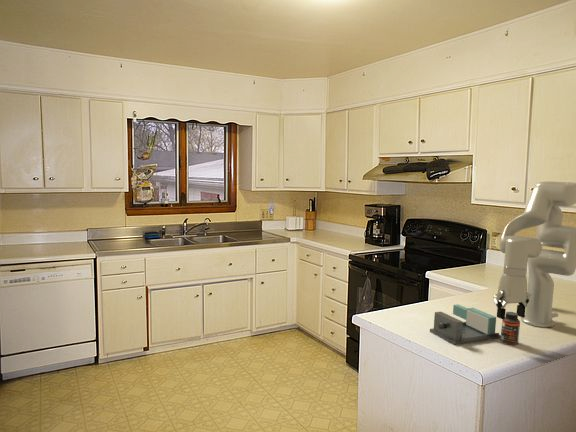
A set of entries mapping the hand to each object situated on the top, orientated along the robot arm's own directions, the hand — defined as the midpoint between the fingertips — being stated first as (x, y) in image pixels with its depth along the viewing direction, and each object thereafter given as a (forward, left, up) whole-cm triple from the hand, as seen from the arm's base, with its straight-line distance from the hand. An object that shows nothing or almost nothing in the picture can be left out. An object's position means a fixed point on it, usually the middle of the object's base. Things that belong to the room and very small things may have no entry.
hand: (510, 317), depth 164 cm
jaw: (+3, -15, -9) cm, 18 cm away
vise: (+10, -11, -10) cm, 18 cm away
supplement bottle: (-1, 0, -10) cm, 10 cm away
